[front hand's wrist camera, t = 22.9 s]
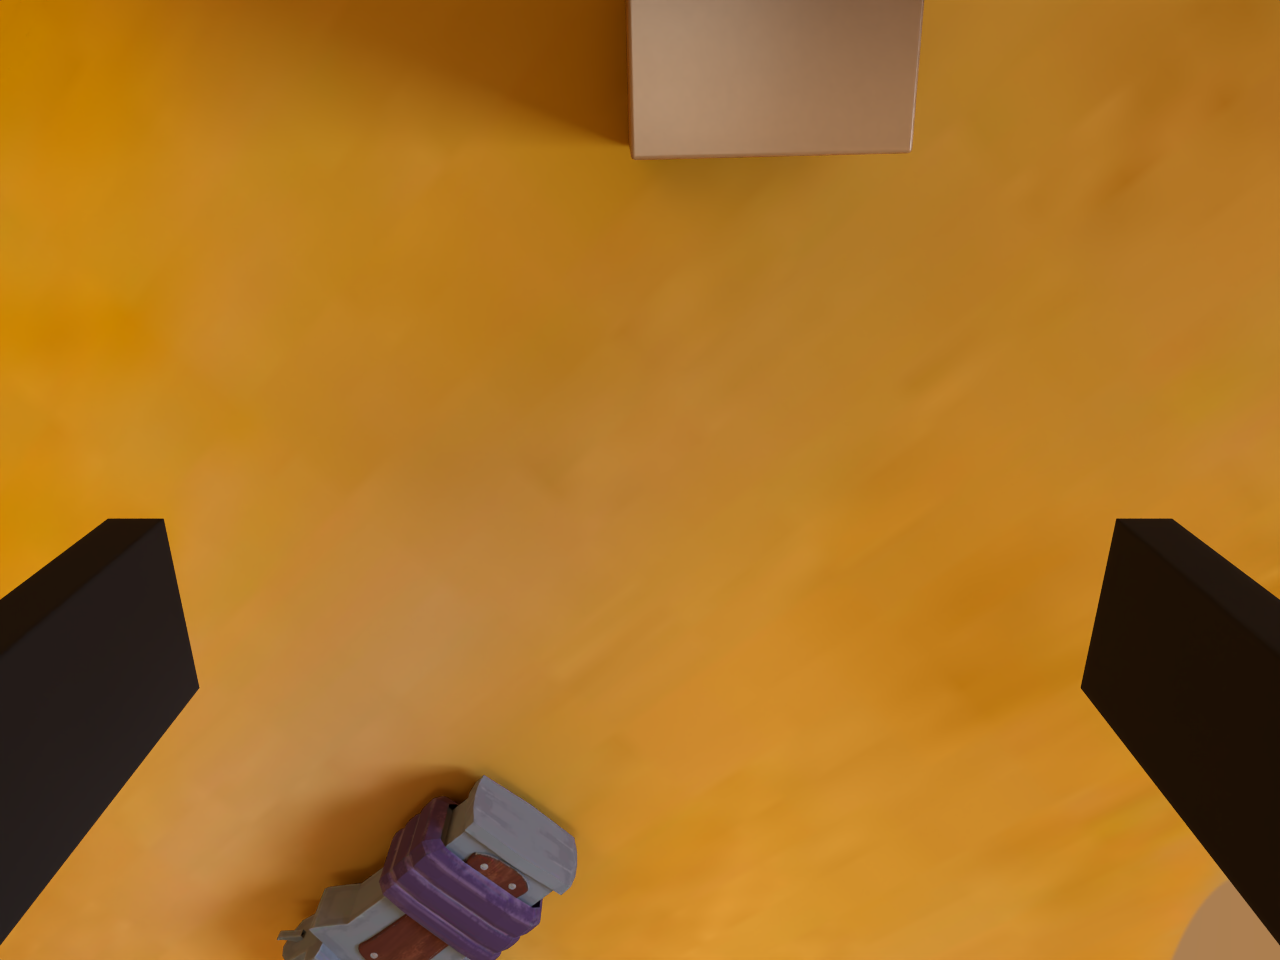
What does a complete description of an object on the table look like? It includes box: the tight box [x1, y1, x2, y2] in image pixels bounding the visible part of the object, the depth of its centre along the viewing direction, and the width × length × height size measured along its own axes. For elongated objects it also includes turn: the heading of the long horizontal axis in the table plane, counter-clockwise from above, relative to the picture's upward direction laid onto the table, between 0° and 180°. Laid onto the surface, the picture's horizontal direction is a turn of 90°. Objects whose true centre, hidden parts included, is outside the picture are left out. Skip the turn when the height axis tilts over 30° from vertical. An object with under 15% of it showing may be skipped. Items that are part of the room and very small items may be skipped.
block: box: [625, 0, 924, 160], centre depth 25 cm, size 8×7×11 cm
